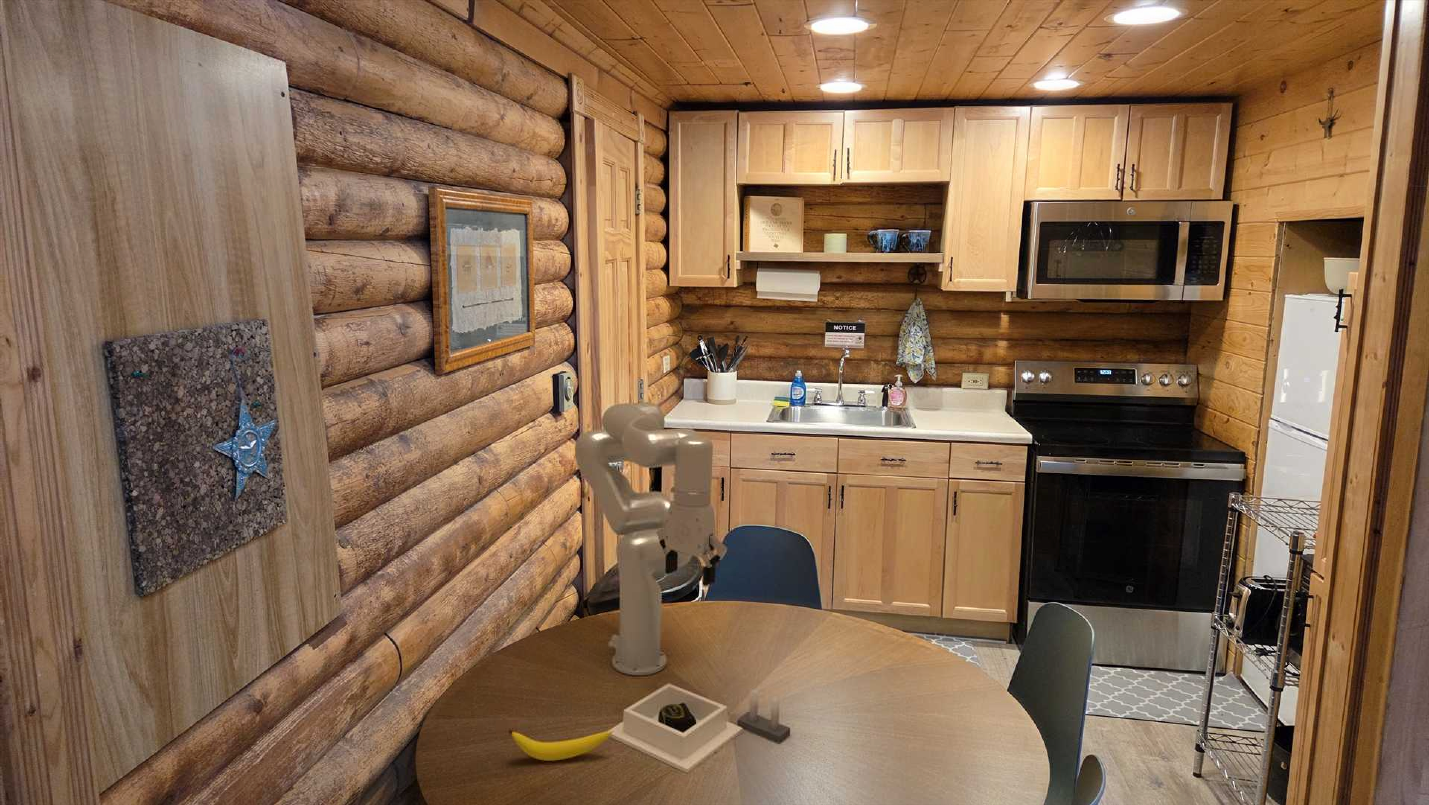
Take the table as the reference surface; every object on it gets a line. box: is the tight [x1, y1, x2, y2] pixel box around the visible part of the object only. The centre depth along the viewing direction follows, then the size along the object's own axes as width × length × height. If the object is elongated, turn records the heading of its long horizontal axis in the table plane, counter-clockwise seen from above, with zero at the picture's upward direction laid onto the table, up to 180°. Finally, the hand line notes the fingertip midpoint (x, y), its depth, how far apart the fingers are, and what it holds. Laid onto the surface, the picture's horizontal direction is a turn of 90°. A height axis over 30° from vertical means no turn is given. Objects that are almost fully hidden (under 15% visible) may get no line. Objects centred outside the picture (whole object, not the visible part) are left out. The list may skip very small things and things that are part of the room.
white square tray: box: [607, 683, 744, 774], centre depth 166 cm, size 20×18×5 cm
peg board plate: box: [736, 689, 791, 744], centre depth 168 cm, size 10×4×8 cm, turn 54°
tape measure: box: [658, 703, 696, 733], centre depth 166 cm, size 7×7×4 cm
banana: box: [508, 729, 613, 762], centre depth 156 cm, size 3×19×6 cm, turn 100°
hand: (689, 577), depth 172 cm, fingers open, 9 cm apart
